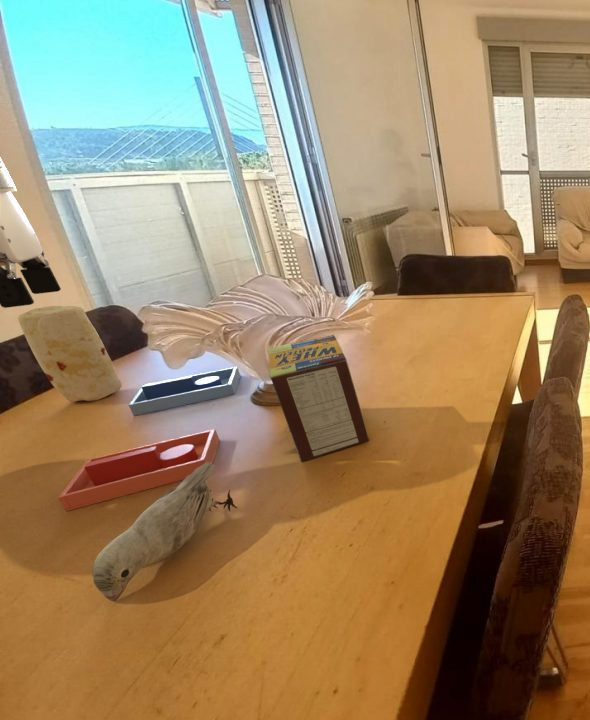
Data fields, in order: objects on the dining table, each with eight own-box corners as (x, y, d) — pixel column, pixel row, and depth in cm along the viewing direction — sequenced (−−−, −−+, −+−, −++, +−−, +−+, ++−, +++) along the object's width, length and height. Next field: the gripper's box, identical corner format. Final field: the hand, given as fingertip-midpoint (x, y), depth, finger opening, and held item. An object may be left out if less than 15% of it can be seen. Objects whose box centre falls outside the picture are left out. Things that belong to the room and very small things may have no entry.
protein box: (356, 407, 93) (334, 333, 87) (370, 441, 82) (347, 358, 76) (293, 425, 88) (266, 347, 82) (299, 463, 76) (268, 376, 70)
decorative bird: (88, 603, 52) (55, 552, 50) (209, 506, 67) (189, 462, 64) (135, 604, 52) (104, 552, 49) (246, 506, 67) (227, 462, 64)
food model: (127, 385, 107) (85, 299, 99) (124, 395, 102) (79, 306, 94) (64, 399, 101) (14, 309, 93) (58, 410, 96) (5, 316, 89)
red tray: (66, 511, 67) (57, 497, 66) (94, 471, 76) (87, 459, 75) (209, 472, 75) (204, 459, 74) (220, 440, 84) (215, 428, 83)
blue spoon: (146, 405, 96) (139, 389, 95) (152, 397, 100) (144, 382, 99) (221, 389, 102) (215, 375, 101) (223, 382, 106) (218, 368, 104)
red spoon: (91, 491, 70) (80, 472, 69) (101, 476, 74) (90, 457, 73) (195, 464, 76) (187, 445, 75) (200, 451, 80) (192, 433, 78)
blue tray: (133, 415, 93) (128, 405, 92) (148, 394, 102) (143, 384, 101) (234, 394, 101) (230, 384, 100) (240, 376, 110) (237, 366, 109)
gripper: (-33, 182, 73) (25, 291, 79) (-112, 185, 59) (-34, 316, 66) (37, 180, 76) (87, 284, 83) (-22, 182, 62) (43, 307, 69)
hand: (33, 298), depth 74 cm, fingers open, 9 cm apart
